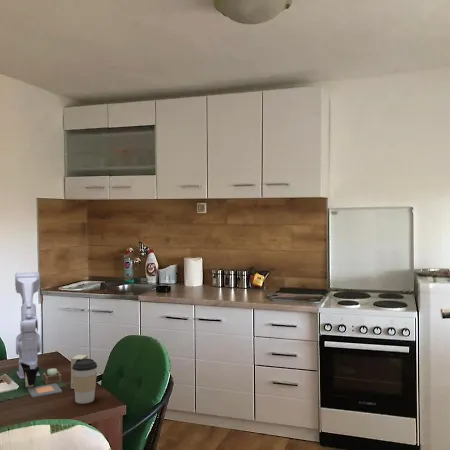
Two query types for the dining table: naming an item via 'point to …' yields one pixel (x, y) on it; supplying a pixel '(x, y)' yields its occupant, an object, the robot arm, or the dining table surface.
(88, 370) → the coffee cup
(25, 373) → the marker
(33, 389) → the grey square plate
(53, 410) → the dining table surface
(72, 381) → the skincare box
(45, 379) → the button housing
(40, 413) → the dining table surface
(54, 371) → the button
